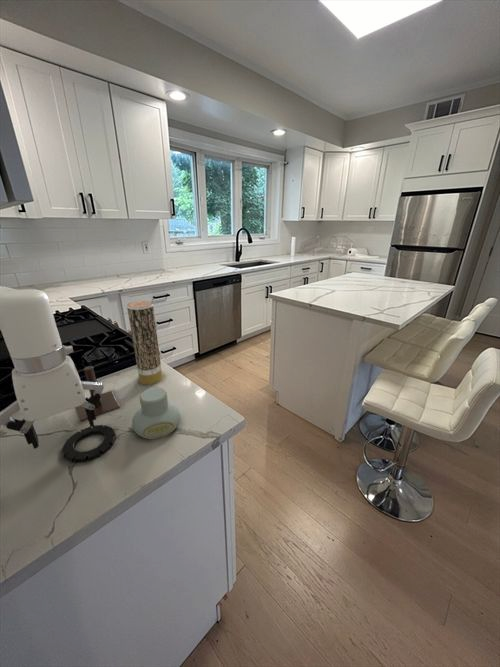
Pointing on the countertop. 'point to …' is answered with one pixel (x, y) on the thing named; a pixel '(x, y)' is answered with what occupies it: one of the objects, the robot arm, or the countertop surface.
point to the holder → (104, 403)
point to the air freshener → (155, 415)
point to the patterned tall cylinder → (145, 341)
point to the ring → (92, 454)
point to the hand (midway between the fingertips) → (65, 433)
